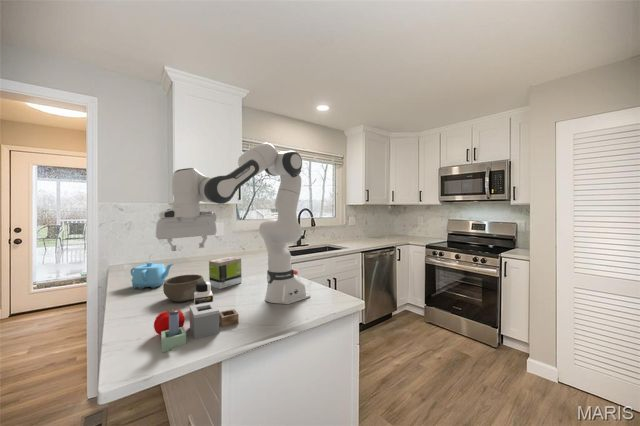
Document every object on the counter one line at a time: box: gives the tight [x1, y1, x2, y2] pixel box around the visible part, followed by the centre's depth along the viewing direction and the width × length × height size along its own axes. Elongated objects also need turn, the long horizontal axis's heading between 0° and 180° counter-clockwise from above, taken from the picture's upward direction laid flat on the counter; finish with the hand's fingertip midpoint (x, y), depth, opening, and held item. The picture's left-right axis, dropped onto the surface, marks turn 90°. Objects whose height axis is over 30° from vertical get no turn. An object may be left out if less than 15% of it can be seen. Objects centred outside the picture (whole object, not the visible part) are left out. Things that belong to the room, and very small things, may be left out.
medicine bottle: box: [193, 280, 214, 305], centre depth 117 cm, size 7×7×12 cm
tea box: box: [208, 256, 242, 290], centre depth 155 cm, size 15×10×15 cm
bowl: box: [162, 274, 205, 303], centre depth 131 cm, size 17×18×10 cm
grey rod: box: [169, 309, 180, 337], centre depth 88 cm, size 3×3×10 cm
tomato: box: [153, 308, 186, 337], centre depth 96 cm, size 9×10×8 cm
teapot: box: [129, 261, 174, 290], centre depth 151 cm, size 18×16×14 cm
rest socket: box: [160, 326, 187, 353], centre depth 88 cm, size 7×7×4 cm
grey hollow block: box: [189, 301, 220, 340], centre depth 96 cm, size 8×10×9 cm
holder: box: [219, 308, 240, 328], centre depth 103 cm, size 6×6×4 cm
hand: (188, 249), depth 100 cm, fingers open, 8 cm apart
